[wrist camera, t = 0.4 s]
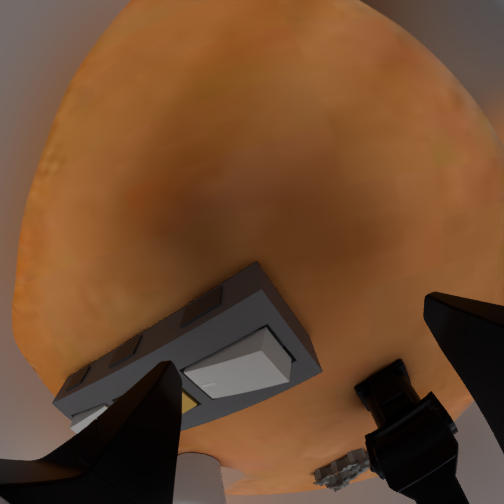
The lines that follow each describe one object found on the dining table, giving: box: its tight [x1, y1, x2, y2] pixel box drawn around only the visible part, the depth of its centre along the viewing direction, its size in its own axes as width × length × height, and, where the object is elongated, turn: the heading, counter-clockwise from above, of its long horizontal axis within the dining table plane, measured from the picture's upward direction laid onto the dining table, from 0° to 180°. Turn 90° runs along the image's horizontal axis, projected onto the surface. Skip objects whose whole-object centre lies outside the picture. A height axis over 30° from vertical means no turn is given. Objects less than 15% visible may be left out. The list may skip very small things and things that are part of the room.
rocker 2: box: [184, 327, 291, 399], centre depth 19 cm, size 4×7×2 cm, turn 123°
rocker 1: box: [70, 403, 110, 434], centre depth 21 cm, size 4×7×2 cm, turn 123°
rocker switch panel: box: [52, 261, 322, 431], centre depth 23 cm, size 9×28×5 cm, turn 123°
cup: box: [173, 453, 226, 504], centre depth 26 cm, size 9×9×12 cm
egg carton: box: [313, 449, 370, 492], centre depth 33 cm, size 11×8×4 cm
